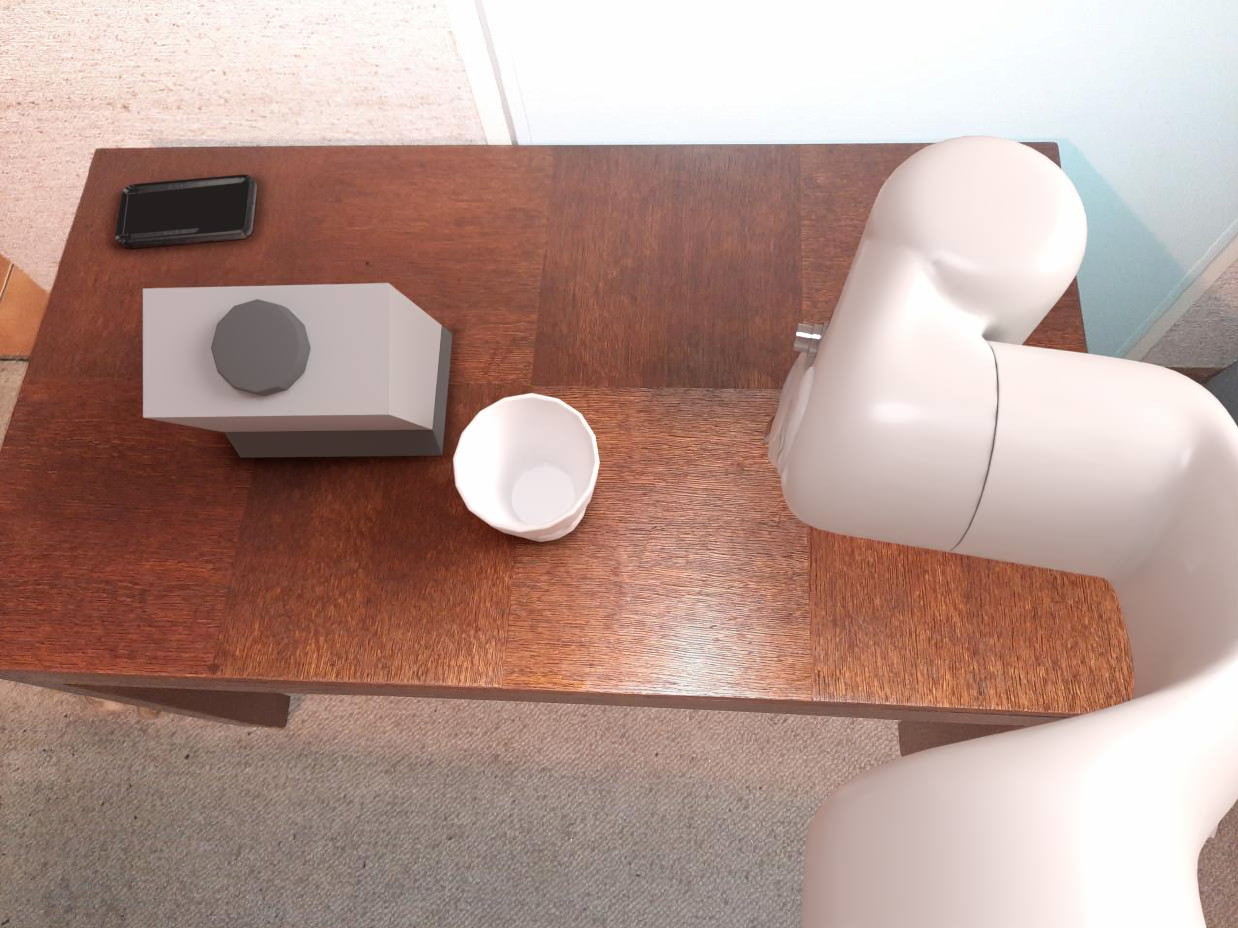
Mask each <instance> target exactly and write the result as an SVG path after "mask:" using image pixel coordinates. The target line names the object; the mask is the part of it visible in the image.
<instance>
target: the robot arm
mask: <svg viewBox="0 0 1238 928" xmlns="http://www.w3.org/2000/svg"><path fill="white" fill-rule="evenodd" d="M1087 219H1088V218H1087V214H1086V210H1085V208H1084V204H1083V200H1082V199H1081V197H1080V195H1079V193H1078V191H1077V188H1076V186H1075V184H1074V183H1073V182H1072V181H1071V179H1070V178H1069V177H1068V175H1067V174H1066V173H1065V171H1064V170H1062V168H1061V167H1060V166H1059V165H1057V163H1055V162H1054V161H1052V159H1050V158H1049V157H1048V156H1047V155H1045V154H1043V153H1042V152H1040V151H1038V150H1036V149H1035V148H1033V147H1031V146H1028V145H1026V144H1024V143H1022V142H1018V141H1016V140H1012V139H1007V138H1005V137H1000V136H991V135H981V134H979V135H962V136H958V137H952V138H948V139H944V140H941V141H938V142H936V143H932V144H929V145H927V146H924V147H923V148H921V149H920V150H918V151H917V152H915V153H913V154H912V155H910V156H908V158H907V159H905V160H904V161H903V162H902V163H901V164H900V165H899V166H897V167H896V168H895V169H894V171H893V172H892V173H891V174H890V175H889V176H888V177H887V179H886V180H885V181H884V183H883V184H882V186H881V188H880V190H879V191H878V194H877V196H876V198H875V200H874V203H873V205H872V207H871V209H870V212H869V215H868V217H867V220H866V224H865V226H864V228H863V232H862V235H861V238H860V239H859V243H858V246H857V249H856V252H855V254H854V257H853V260H852V262H851V265H850V268H849V271H848V273H847V276H846V279H845V282H844V285H843V287H842V290H841V293H840V296H839V298H838V301H837V304H836V306H834V307H833V309H832V312H831V315H830V318H829V321H828V322H827V321H823V322H822V324H818V323H813V325H809V324H805V323H797V327H796V331H795V335H794V338H793V343H792V349H791V350H792V351H794V352H798V353H799V352H800V353H799V355H798V357H797V358H796V360H795V361H794V363H793V365H792V366H791V368H790V370H789V372H788V374H787V376H786V379H785V381H784V383H783V386H782V389H781V391H780V395H779V397H778V401H779V403H778V406H777V410H776V413H775V415H773V416H772V417H771V418H770V419H769V420H768V421H767V423H766V428H765V433H764V437H763V442H765V443H766V444H768V447H767V459H768V461H769V463H770V464H771V465H772V466H773V467H774V468H775V469H776V471H777V474H778V477H779V478H780V485H781V493H782V495H783V496H782V497H783V500H784V502H785V505H786V506H787V509H788V510H789V511H790V512H791V514H793V516H795V518H797V519H798V520H799V521H800V522H802V523H804V524H806V525H807V526H809V527H812V528H815V529H817V530H820V531H824V532H829V533H832V534H837V535H841V536H847V537H854V538H859V539H864V540H865V539H867V540H872V541H877V542H883V543H888V544H889V543H890V544H896V545H902V546H907V547H913V548H920V549H926V550H932V551H937V552H943V553H945V552H946V553H951V554H957V555H963V556H968V557H969V556H970V557H974V558H980V559H988V560H993V561H999V562H1006V563H1012V564H1017V565H1023V566H1031V567H1036V568H1042V569H1047V570H1053V571H1060V572H1066V573H1071V574H1077V575H1082V576H1088V577H1096V578H1100V579H1104V580H1105V581H1107V582H1108V584H1109V585H1110V587H1111V589H1112V590H1113V592H1114V594H1115V597H1116V600H1117V601H1118V604H1119V608H1120V611H1121V615H1122V618H1123V622H1124V626H1125V631H1126V635H1127V638H1128V644H1129V648H1130V653H1131V660H1132V671H1133V688H1132V689H1133V690H1132V691H1133V692H1132V699H1130V700H1127V701H1124V702H1121V703H1118V704H1115V705H1111V706H1108V707H1105V708H1101V709H1098V710H1097V709H1096V710H1094V711H1091V712H1087V713H1086V712H1085V713H1083V714H1080V715H1079V714H1078V715H1075V716H1071V717H1066V718H1063V719H1059V720H1055V721H1051V722H1046V723H1041V724H1038V725H1033V726H1029V727H1025V728H1019V729H1015V730H1010V731H1005V732H999V733H994V734H990V735H984V736H981V737H976V738H970V739H967V740H962V741H957V742H953V743H949V744H944V745H939V746H936V747H931V748H927V749H924V750H919V751H916V752H912V753H909V754H906V755H903V756H900V757H898V758H896V759H893V760H890V761H888V762H886V763H882V764H880V765H878V766H875V767H873V768H871V769H868V770H865V771H863V772H861V773H859V774H857V775H856V776H854V777H852V778H850V779H849V780H847V781H845V782H844V783H843V784H842V785H840V786H838V788H837V789H836V790H834V791H833V792H832V793H831V794H829V795H828V796H827V798H825V800H824V801H823V802H822V803H821V805H820V806H819V808H818V809H817V811H816V812H815V814H814V815H813V818H812V820H811V821H810V823H809V826H808V830H807V833H806V835H805V843H804V844H805V845H804V852H803V871H802V872H803V874H802V875H803V876H802V891H801V892H802V893H801V894H802V895H801V897H802V899H801V928H1207V923H1206V920H1205V917H1204V913H1203V907H1202V903H1201V899H1200V889H1199V888H1200V887H1199V881H1198V879H1199V878H1198V865H1199V864H1198V862H1199V857H1200V854H1201V851H1202V849H1203V847H1204V845H1205V843H1206V841H1207V840H1208V838H1209V836H1210V835H1211V833H1212V832H1213V830H1214V829H1216V827H1217V825H1218V824H1219V823H1220V822H1221V821H1222V819H1223V818H1224V817H1225V816H1226V814H1227V813H1228V812H1229V810H1231V809H1232V808H1233V806H1234V805H1235V804H1236V802H1237V801H1238V425H1237V423H1236V422H1235V420H1234V418H1233V417H1232V416H1231V415H1230V413H1229V412H1228V410H1227V408H1226V407H1225V406H1224V405H1223V404H1222V403H1221V402H1220V400H1219V399H1218V398H1217V397H1216V396H1215V395H1214V394H1213V393H1211V392H1210V390H1208V389H1207V388H1205V387H1204V386H1202V384H1200V383H1198V382H1196V381H1195V380H1194V379H1192V378H1190V377H1189V376H1186V375H1184V374H1182V373H1180V372H1178V371H1176V370H1173V369H1170V368H1167V367H1164V366H1162V365H1157V364H1153V363H1148V362H1143V361H1136V360H1133V359H1132V360H1131V359H1127V358H1121V357H1113V356H1107V355H1100V354H1094V353H1087V352H1079V351H1072V350H1063V349H1054V348H1048V347H1039V346H1031V345H1030V346H1029V345H1023V344H1024V343H1025V342H1026V340H1027V339H1028V338H1029V337H1030V336H1031V334H1032V333H1033V332H1034V331H1035V330H1036V328H1037V327H1038V326H1039V325H1040V323H1041V322H1042V321H1043V320H1044V318H1045V317H1046V316H1047V315H1048V314H1049V313H1050V311H1051V310H1052V309H1053V308H1054V306H1055V305H1056V304H1057V303H1058V301H1059V300H1060V299H1061V298H1062V296H1063V295H1064V294H1065V293H1066V291H1067V290H1068V288H1069V287H1070V285H1071V284H1072V283H1073V281H1074V279H1075V277H1076V276H1077V274H1078V272H1079V270H1080V268H1081V265H1082V262H1083V260H1084V257H1085V254H1086V253H1085V252H1086V247H1087V242H1088V222H1087V221H1088V220H1087Z"/></svg>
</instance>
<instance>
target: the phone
mask: <svg viewBox="0 0 1238 928" xmlns="http://www.w3.org/2000/svg"><path fill="white" fill-rule="evenodd" d="M257 197H258V184H257V182H256V181H255V180H254V178H253V177H252V176H250V175H249V174H244V173H243V174H233V175H232V174H231V175H222V176H221V175H219V176H210V177H200V178H187V179H186V178H185V179H176V180H175V179H174V180H163V181H154V182H152V181H151V182H143V183H142V182H141V183H132V184H129V185H127V186H126V187H124V189H123V190H122V192H121V198H120V203H119V209H118V215H117V221H116V227H115V233H114V238H115V240H116V241H117V242H118V243H119V244H120V245H121V246H122V247H123V248H125V249H139V248H150V247H151V248H152V247H162V246H163V247H164V246H175V245H186V244H199V243H210V242H211V243H212V242H221V241H223V242H224V241H233V240H243V239H247V238H248V237H250V236H251V235H252V234H253V232H254V225H255V216H256V208H257V207H256V206H257Z"/></svg>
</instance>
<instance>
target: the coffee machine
mask: <svg viewBox="0 0 1238 928" xmlns="http://www.w3.org/2000/svg"><path fill="white" fill-rule="evenodd" d="M453 337H454V336H453V333H452V332H450V330H448V329H447V328H446V327H445V326H444V325H442V324H441V323H440V322H438V321H437V320H436V319H434V318H433V317H432V316H430V315H429V314H428V313H427V312H426V311H424V309H422V308H421V307H419V306H418V305H417V304H416V303H414V302H413V301H412V300H411V299H409V298H408V297H407V296H406V295H404V294H403V293H401V291H400V290H398V289H396V287H394V286H393V285H392V284H390V283H389V282H374V283H369V282H368V283H337V284H336V283H327V284H326V283H323V284H285V285H284V284H283V285H240V286H239V285H235V286H234V285H233V286H202V287H201V286H196V287H195V286H192V287H190V286H189V287H188V286H187V287H151V288H150V287H149V288H148V287H147V288H142V418H143V419H149V420H155V421H159V422H166V423H170V424H171V423H172V424H177V425H182V426H189V427H193V428H197V429H204V430H209V431H215V432H220V433H223V434H224V435H225V436H226V438H227V440H229V443H230V444H231V446H232V447H233V448H234V450H235V451H236V453H237V455H238V456H239V457H240V458H323V457H324V458H326V457H327V458H335V457H336V458H337V457H338V458H339V457H340V458H341V457H343V458H344V457H428V456H430V457H433V456H434V457H436V456H443V448H444V437H445V428H446V427H445V426H446V415H447V404H448V403H447V402H448V392H449V383H450V381H449V380H450V369H451V360H452V359H451V358H452V348H453V347H452V346H453V345H452V344H453Z"/></svg>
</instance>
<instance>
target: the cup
mask: <svg viewBox="0 0 1238 928" xmlns="http://www.w3.org/2000/svg"><path fill="white" fill-rule="evenodd" d="M452 464H453V465H452V466H453V475H454V476H453V477H454V482H455V483H454V485H455V488H456V490H457V492H458V494H459V495H460V497H461V499H462V501H463V502H464V504H465V506H466V508H467V509H468V511H470V512H471V513H472V514H473V515H474V516H476V517H478V518H479V519H480V520H482V521H484V523H486V524H488V526H490V527H492V528H494V529H496V530H498V531H499V532H501V533H504V534H508V535H512V536H515V537H520V538H524V539H527V540H530V541H534V542H539V543H542V542H543V543H544V542H550V541H554V540H555V541H556V540H559V539H560V538H562V537H565V536H566V535H568V534H569V533H572V531H574V530H575V529H576V527H577V526H578V525H579V523H580V522H581V520H582V519H583V518H584V516H585V513H586V510H587V507H588V505H589V504H590V503H591V500H592V497H593V494H594V490H595V487H596V483H597V480H598V476H599V468H600V457H599V450H598V444H597V438H596V435H595V433H594V432H593V429H592V428H591V427H590V425H589V424H588V422H587V420H586V419H585V417H584V415H583V414H582V413H581V412H580V411H578V410H576V408H573V407H572V406H571V405H569V404H568V403H566V402H564V401H563V400H561V399H560V398H556V397H552V396H547V395H543V394H538V393H533V392H529V393H525V394H519V395H512V396H506V397H503V398H501V399H499V400H498V401H496V402H494V403H492V404H489V405H488V406H487V407H485V408H483V409H481V410H480V411H478V413H477V414H476V415H475V416H474V417H473V419H472V420H471V421H470V422H469V424H468V425H467V426H466V427H465V428H464V429H463V431H462V432H461V434H460V437H459V439H458V443H457V446H456V449H455V452H454V454H453V458H452Z"/></svg>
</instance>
